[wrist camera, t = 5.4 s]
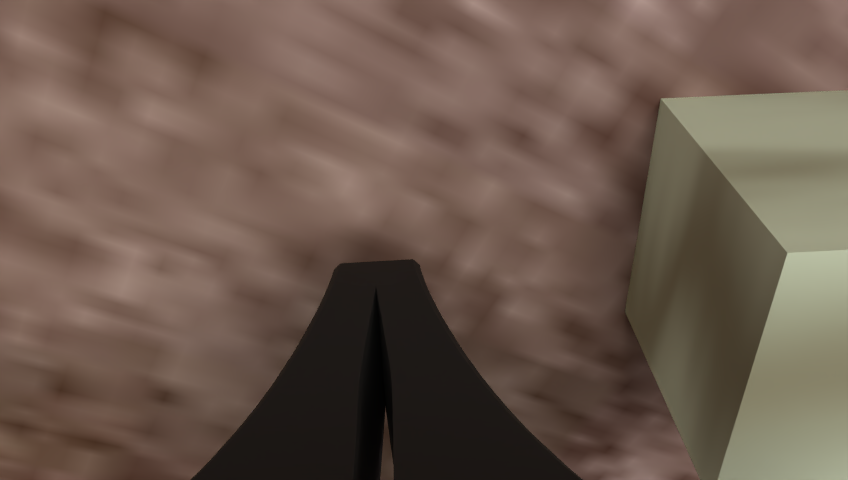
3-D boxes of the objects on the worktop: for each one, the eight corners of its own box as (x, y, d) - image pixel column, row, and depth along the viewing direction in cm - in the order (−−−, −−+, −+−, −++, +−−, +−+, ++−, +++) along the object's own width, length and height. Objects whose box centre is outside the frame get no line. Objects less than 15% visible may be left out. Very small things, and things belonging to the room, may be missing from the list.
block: (845, 297, 16) (1004, 483, 12) (624, 309, 16) (710, 502, 12) (924, 85, 14) (1166, 232, 10) (658, 97, 14) (788, 252, 9)
